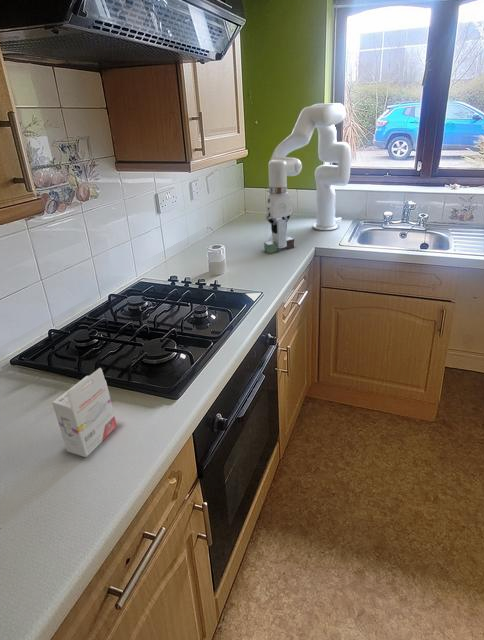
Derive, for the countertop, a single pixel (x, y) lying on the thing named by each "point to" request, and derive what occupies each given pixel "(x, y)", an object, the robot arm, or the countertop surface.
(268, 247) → the sage block
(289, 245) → the walnut block
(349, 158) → the robot arm
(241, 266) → the countertop surface
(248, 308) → the countertop surface
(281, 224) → the cosmetic box
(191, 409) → the countertop surface
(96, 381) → the ink cartridge box
